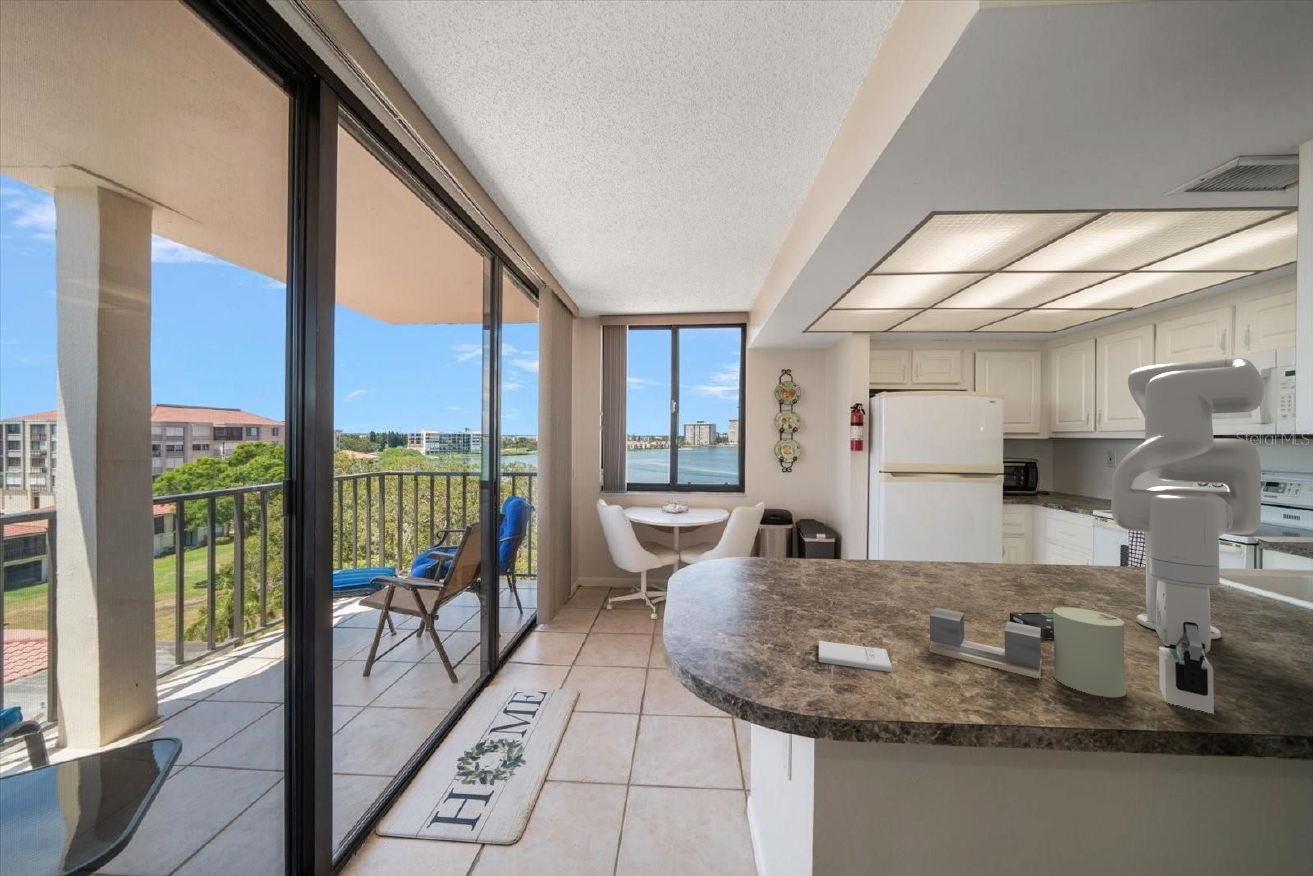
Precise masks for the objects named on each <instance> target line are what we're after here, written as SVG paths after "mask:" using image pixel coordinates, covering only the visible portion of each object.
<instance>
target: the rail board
mask: <svg viewBox="0 0 1313 876" xmlns="http://www.w3.org/2000/svg"><path fill="white" fill-rule="evenodd" d="M1005 624H1006V625H1005V628H1004V648H1001V647H997V646H993V645H992V646H991V645H988V644H984V643H983V644H982V643H979V642H974V641H970V640H965V612H961V611H955V610H950V609H946V608H940V607H935V608H934V609H933V610H932V612H931V613H930V614H929V641H931V643H930V645H929V653H934V654H937V655H942V656H946V657H948V658H953V659H958V660H961V661H966V662H971V663H973V664H978V665H981V666H985V667H989V668H994V669H997V668H998V670H1001V669H1002V671H1005V672H1006V671H1007V672H1010V673H1014V674H1018V675H1023V676H1026V677H1031V678H1034V679H1038V678H1039V680H1041V674H1042V673H1041V672H1042V638H1041V628H1039V627H1034V626H1029V625H1024V624H1018V623H1013V622H1010V621H1007V622H1006V623H1005Z"/></svg>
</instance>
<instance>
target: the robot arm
mask: <svg viewBox="0 0 1313 876" xmlns="http://www.w3.org/2000/svg"><path fill="white" fill-rule="evenodd" d="M1127 385H1128V389H1129V390H1128V391H1129V393H1130V395H1131V397H1132V398H1133V400H1134V402H1135V403H1136V405H1137V406H1138V409H1140V411H1141V413H1142V414H1143V417H1144V423H1145V424H1144V434H1145V436H1144V439H1145V441H1143V442H1142V443H1141V444H1140V445H1138V446H1137V447H1135V448H1133V449H1132V450H1131V451H1130V452H1128V453H1127V454H1126V455H1125V456H1124V457H1123V459H1121V461H1119V462H1118V465H1117V466H1116V468H1115V470H1114V472H1113V475H1112V480H1111V499H1110V501H1111V505H1110V507H1111V508H1110V509H1111V515H1112V518H1113V521H1114V523H1116V525H1118V527H1120V528H1122V529H1125V530H1128V531H1131V532H1132V531H1134V532H1140V533H1141V532H1142V533H1143V535H1144V549H1145V550H1144V551H1145V552H1144V553H1145V555H1144V556H1145V559H1144V560H1145V607H1146V608H1145V610H1146V613H1141V614H1137V615H1136V621H1137V623H1139V624H1140V625H1142V626H1143V627H1145V628H1146V627H1147V628H1149V629H1150V630H1154V631H1156V633H1157V635H1158V637H1159V639H1160V641H1161V642H1162V644H1164V648H1169V649H1175V650H1177V656H1178V662H1175V668H1176V687H1177V689H1178V690H1181V691H1186V692H1190V693H1195V694H1199V695H1203V696H1207V695H1208V669H1207V666H1206V660H1205V657H1206V655H1205V654H1206V653H1208V652H1209V651H1211V641H1212V640H1216V639H1220V638H1221V637H1222V635H1221V630H1219V629H1218V628H1216V627H1215V626H1213V625H1212V624H1211V621H1212V620H1211V619H1212V617H1211V601H1210V600H1211V599H1210V589H1217V588H1220V587H1221V584H1220V538H1219V537H1222V536H1224V535H1225V534H1227V535H1242V536H1243V535H1251V534H1253V533H1255V532H1257V530H1258V529H1259V527H1260V523H1261V517H1262V516H1261V515H1262V497H1261V496H1262V494H1261V493H1262V490H1261V489H1262V486H1261V484H1262V483H1261V482H1262V481H1261V480H1262V476H1261V475H1262V471H1261V470H1262V468H1261V467H1262V466H1261V459H1260V458H1261V457H1260V454H1259V451H1258V449H1257V447H1256V446H1255V445H1254V444H1253V443H1252V442H1251V441H1248V440H1245V439H1240V438H1214V430H1213V429H1214V427H1213V416H1212V415H1213V414H1234V413H1237V414H1238V413H1239V414H1240V413H1249V412H1250V413H1251V412H1253V411H1255V410H1257V409H1258V408H1259V407H1260V406H1261V404H1262V402H1263V399H1264V393H1265V392H1264V391H1265V390H1264V381H1263V378H1262V375H1261V374H1260V372H1259V370H1258V369H1257V368H1256V366H1255V365H1254V364H1253V363H1252V362H1251V361H1250V360H1248V359H1245V358H1225V359H1223V358H1222V359H1214V360H1212V359H1211V360H1202V361H1186V362H1185V361H1184V362H1183V361H1182V362H1172V363H1161V364H1154V365H1148V366H1144V367H1143V366H1142V367H1140V368H1137V369H1134V370H1133V371H1131V372H1130V373H1129V375H1128V378H1127ZM1146 472H1149V474H1150V476H1151V477H1153V478H1155V479H1157V480H1160V481H1164V482H1165V481H1166V482H1173V483H1175V482H1176V483H1199V484H1219V485H1223V486H1225V487H1226V488H1217V487H1216V488H1214V487H1197V486H1179V485H1178V486H1177V485H1176V486H1174V485H1169V486H1168V485H1167V486H1166V485H1164V486H1163V485H1161V486H1153V487H1149V488H1147V489H1140V488H1139V489H1137V488H1133V484H1134V481H1136V480H1135V479H1136V478H1138V477H1139V476H1142V474H1144V473H1146ZM1183 651H1185V652H1184V654H1183Z"/></svg>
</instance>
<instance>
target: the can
mask: <svg viewBox="0 0 1313 876" xmlns="http://www.w3.org/2000/svg"><path fill="white" fill-rule="evenodd" d="M1052 613H1053V615H1054V639H1053V640H1054V642H1053V644H1054V645H1053V647H1054V648H1053V649H1054V650H1053V654H1054V656H1053V657H1054V660H1053V661H1054V663H1053V678H1054V679H1055V680H1056V681H1057V682H1059V683H1060V682H1061V683H1060V684H1062V685H1064V686H1066V687H1067V688H1070V687H1071V688H1070V689H1072V688H1073V690H1075V689H1076V690H1075V691H1078V692H1081V691H1082V692H1081V693H1084V692H1085V693H1084V694H1088V695H1093V696H1097V697H1102V696H1103V698H1121V697H1125V696H1126V694H1127V690H1126V684H1125V683H1126V682H1125V626H1126V623H1125V621H1124V620H1122V619H1121V618H1119V617H1117V616H1116V615H1115V616H1114V615H1112V614H1109V613H1105V612H1102V611H1097V610H1093V609H1088V608H1082V607H1081V608H1080V607H1072V606H1071V607H1069V606H1060V607H1055V608H1053V609H1052Z"/></svg>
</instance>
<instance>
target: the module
mask: <svg viewBox="0 0 1313 876" xmlns="http://www.w3.org/2000/svg"><path fill="white" fill-rule="evenodd" d="M1184 652H1185V651H1183V654H1184ZM1158 655H1159V656H1158V658H1159V659H1158V662H1159V665H1158V666H1159V670H1158V671H1159V690H1160V692H1162V693H1161V694H1162V698H1163V699H1165V700H1164V702H1165V701H1166V702H1167V703H1166V702H1165V703H1166V704H1168V703H1170V704H1169V705H1172V704H1174V705H1173V706H1176V705H1180V706H1184V707H1187V708H1186V709H1189V708H1190V709H1189V710H1193V709H1194V711H1197V710H1201V711H1205V712H1208V713H1207V714H1209V713H1213V714H1214V715H1215V709H1214V708H1215V703H1214V702H1215V699H1214V698H1215V697H1214V668H1213V666H1212V664H1211V662H1209V660H1208V659H1207V657H1206V656H1205V660H1206V666H1207V669H1208V695H1207V696H1203V695H1199V694H1195V693H1190V692H1186V691H1181V690H1178V689H1177V687H1176V668H1175V662H1178V656H1177V650H1175V649H1169V648H1165V646H1164V647H1163V646H1158ZM1180 706H1179V707H1180ZM1184 707H1183V708H1184ZM1201 711H1200V712H1201ZM1205 712H1204V713H1205ZM1213 714H1212V715H1213Z"/></svg>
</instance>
